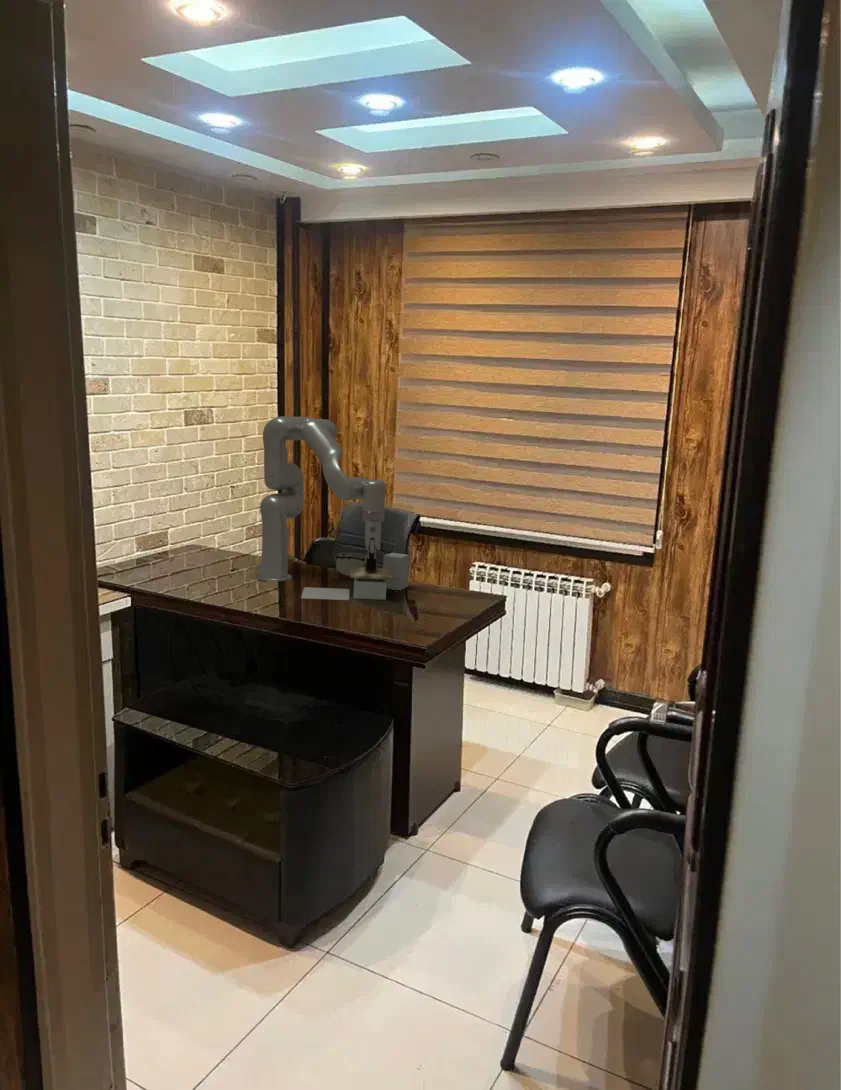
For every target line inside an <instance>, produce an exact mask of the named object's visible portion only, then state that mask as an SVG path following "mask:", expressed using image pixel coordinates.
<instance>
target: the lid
mask: <svg viewBox="0 0 841 1090" xmlns="http://www.w3.org/2000/svg"><path fill="white" fill-rule="evenodd" d="M365 556H366V559H365V565H364V567H351V570H350V578H372V579H392V576H391V570H390V568H383V567H378V554H376V570H375V571H374V570H366V564H367V558H368V554H367V553H366V554H365Z"/></svg>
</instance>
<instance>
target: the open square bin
mask: <svg viewBox="0 0 841 1090" xmlns="http://www.w3.org/2000/svg"><path fill="white" fill-rule="evenodd" d="M386 585H387V582H386V579H372V578H354V581H353V596H352V598H353V599H356V600H359V599H361V600H385V601H386V600H387V588H386Z"/></svg>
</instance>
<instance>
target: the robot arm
mask: <svg viewBox="0 0 841 1090" xmlns="http://www.w3.org/2000/svg"><path fill="white" fill-rule="evenodd" d="M262 431H263V432H262V442H263V474H264V475H263V478H264V479H263V480H264V481H263V482H264V485H265V486H266V488H268V489H269V490H273V491H280V490H281V492H277V493H271V494H268V495H266V496H265V497H264V498H262V500H261V502H260V506H259V507H260V508H259V509H260V517H261V526H262V531H261V532H262V535H261V536H262V538H261V539H262V541H261V564H256V565H255V566H254V568H253V570H254V571H258V574H257V575H256V578H257V579H258V580H259V581H262V582H282V581H283V582H284V581H289V580H291V579H292V577H293V576H292V575H291V574H290V573H288V570H289V566H288V565H289V535H290V534H289V527H288V523H287V521H286V519H291V518H295V517H298V516H299V515H300V514H301V512H302V510H303V508H304V475H303V472H302V470H301V468H300V467H299V466H298V465H297V464H295V463H293V462H289V460H288V458H289V453H288V448H287V446H286V443H285V442H286V441H305V443H307V445H308V447H309V448H310V449H311V451H312V452H313V453H314V454H315V456H316V457H317V458H318V460H319V461H320V463H321V464H322V473H323V477H324V480H325V483H326V484H327V485H328V486H329V488H330V490H331V491H332V492H333V493H334V495H335V496H336V497H337V498H339V499H340V500H342V501H353V500H361V499H362V513H361V515H362V516H361V520H362V521H363V522H365V525H364V526H365V527H364V528H365V531H364V543H365V550H366V551H367V553H366V554H368V558H367V564H366V570H374V571H375V570H376V552H377V551H380V550H381V537H382V522H385V504H386V490H387V489H386V486H387V485H386V483H385V482H384V480H379V479H368V478H366V477H361V476H357V477H348V476H347V475H346V474H345V472H344V471H343V470H342V469H341V466H340V464H339V460H340V459H341V457H343V456H342V455H343V448H342V447H341V446H340V445H339V443H338V442H337V441H336V439H337V436H338V429H337V426H336V425H335V424H334V422H332V421H331V420H329V419H326V418H325V419H323V418H314V417H308V416H291V415H290V416H287V415H285V416H277V417H274V418H272V419H270V420H269V421H268V422H267V423H266V424H265V425H264V428H263V430H262Z"/></svg>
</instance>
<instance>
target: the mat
mask: <svg viewBox="0 0 841 1090" xmlns="http://www.w3.org/2000/svg"><path fill="white" fill-rule="evenodd" d="M300 599H308V600H309V599H311V600H312V599H313V600H336V601H350V588H333V587H310V586H309V587H306V586H305V587H304V588H303V590H302V594H301V597H300Z"/></svg>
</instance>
